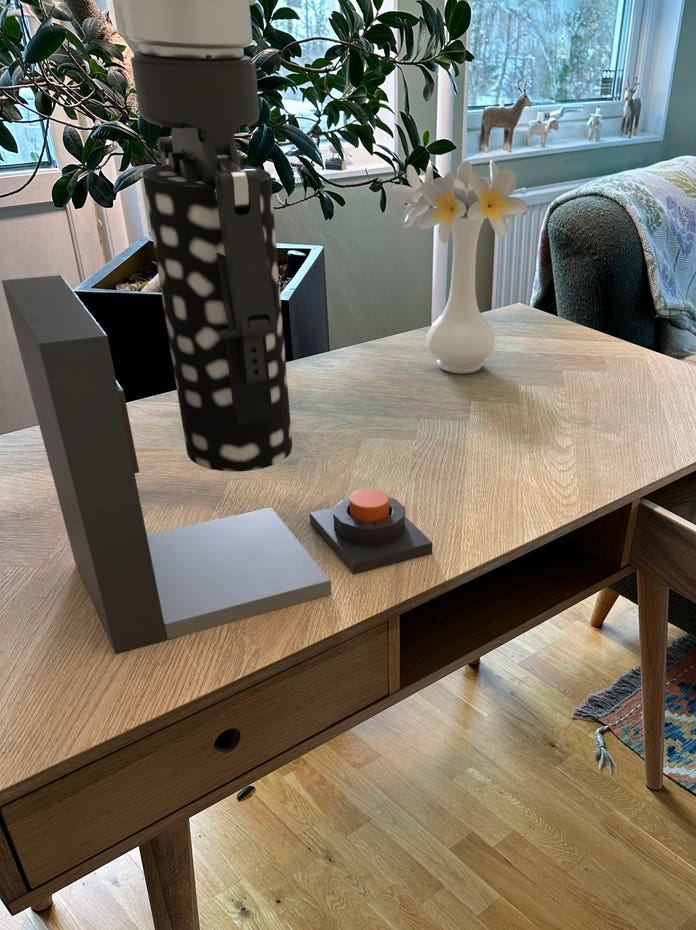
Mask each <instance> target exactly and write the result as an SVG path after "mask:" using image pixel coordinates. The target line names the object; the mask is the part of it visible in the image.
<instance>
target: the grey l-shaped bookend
mask: <svg viewBox="0 0 696 930" xmlns="http://www.w3.org/2000/svg"><path fill="white" fill-rule="evenodd" d="M1 284H2V289H3V292H4V295H5V300H6V304H7V307H8V312H9V316H10V318H11V322H12V326H13V330H14V334H15V339H16V342H17V346H18V349H19V353H20V357H21V361H22V365H23V368H24V373H25V376H26V380H27V385H28V388H29V391H30V395H31V400H32V403H33V407H34V411H35V415H36V418H37V422H38V426H39V429H40V433H41V438H42V441H43V446H44V449H45V452H46V456H47V461H48V464H49V468H50V472H51V477H52V480H53V483H54V487H55V491H56V494H57V498H58V503H59V505H60V510H61V514H62V517H63V521H64V525H65V529H66V532H67V537H68V541H69V544H70V548H71V552H72V556H73V560H74V563H75V564H74V565H75V567H76V569H77V572H78V574H79V576H80V578H81V580H82V582H83V585H84V587H85V589H86V591H87V594H88V596H89V598H90V600H91V602H92V605H93V607H94V609H95V611H96V614H97V617H98V619H99V621H100V623H101V625H102V627H103V630H104V632H105V635H106V636H107V639H108V641H109V643H110V645H111V648H112V650H113V653H114V654H120V653H123V652H126V651H131V650H134V649H138V648H142V647H146V646H149V645H152V644H157V643H160V642H163V641H167V640H171V639H174V638H178V637H183V636H186V635H189V634H193V633H197V632H200V631H204V630H207V629H211V628H215V627H219V626H223V625H225V624H226V625H227V624H230V623H234V622H237V621H241V620H245V619H247V618H251V617H255V616H258V615H262V614H266V613H270V612H273V611H276V610H281V609H284V608H288V607H291V606H292V607H293V606H295V605H299V604H302V603H306V602H309V601H313V600H318V599H321V598H324V597H328V596H331V595H332V593H333V592H332V580H331V579H330V577H329V576H328V575H327V574H326V572H325V571H324V570H323V569H322V568H321V566H320V564H319V563H317V562H316V560H315V559H314V558H313V557H312V555H311V554H310V553H309V552H308V551H307V549H306V548H305V547H304V546H303V544H302V543H301V541H299V540H298V538H297V537H296V536H295V535H294V533H293V532H292V531H291V530H290V528H289V527H288V526H287V525H286V524H285V522H284V521H283V520H282V519H281V518H280V516H279V515H278V513H276V511H275V510H274V509H273V508H272V507H271V506H270V507H267V508H262V509H257V510H252V511H248V512H243V513H239V514H235V515H229V516H225V517H221V518H216V519H212V520H206V521H201V522H199V523H193V524H188V525H184V526H180V527H174V528H170V529H167V530H162V531H157V532H153V533H149V534H148V533H147V530H146V524H145V518H144V514H143V510H142V509H143V508H142V505H141V504H142V503H141V499H140V494H139V489H138V484H137V478H136V474H138V473H140V468H139V463H138V458H137V457H138V456H137V453H136V448H135V442H134V437H133V432H132V426H131V421H130V416H129V411H128V406H127V401H126V396H125V391H124V390H123V388H122V387H121V385H120V384H119V382H118V381H117V377H116V374H115V373H116V372H115V368H114V363H113V358H112V353H111V347H110V343H109V337H108V335H107V334H106V332H105V331H104V330H103V329H102V326H101V324H100V323H98V322H97V321H96V319H95V318H94V317H93V315H92V314H91V313H90V312H89V310H88V309H87V307H86V306H85V305H84V303H83V302H82V301H81V299H80V298H79V296H78V295H77V294H76V293H75V292H74V290H73V289H72V288H71V287H70V285H69V284H68V282H67V281H66V279H65V278H64V277H63V276H62V275H61V274H57V275H48V276H46V275H45V276H36V277H23V278H13V279H12V278H11V279H2V280H1Z"/></svg>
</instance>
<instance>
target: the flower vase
mask: <svg viewBox="0 0 696 930" xmlns="http://www.w3.org/2000/svg"><path fill="white" fill-rule="evenodd" d="M489 171H490V172H489V174H490V177H488V176H487V177H486V176H482V175H481V174H478V173H473V167H472V163H471V162H470V161H469V160H464V161H463V162H462V163H461V164H460V165H459V167H458V169H457V171H456V178H455V176H454V174H453V173H452V172H451V171H447V172H446V173H445V174H444V176H443V177H436V178H434V171H433V165H432V161H431V160H430V161H429V162H428V163H427V167H426V170H425V174H424V181H422V182H421V180H420V177H419V174H418V172H417V170H416V169H415V166H413V165H412V164H408V165H407V167H406V179H407V183H408V184H409V186H408V185H404V184H399V183H398V184H394V185H392V186H391V188H390V189H391V190H390V194H391V195H392V197H393V198H394V199H395V200H396V201H398V202H400V203H402V204H407V206H406V207H405V209H404V211H403V213H402V216H401V221H400V223H401V226H402V228H403V229H404V230H406V229H408V228H410V227H411V226H413V224H414V222H415V221H416V219H417V218H419V220H418V222H417V227H418V228H419V230H421V231H426V230H429V229H432V228H433V227H435V226H437V225H438V230H437V231H438V238H439V240H440V242H441V243H442V244H447V243H448V241H449V239H450V237H451V236H452V237H451V240H452V264H451V265H452V266H451V277H450V278H451V279H450V288H449V293H448V300H447V303H446V305H445V307H444V309H443V311H442V313H441V314H440V316H439V317H438V318H436V319H435V320H434V322H433V323H432V324H431V326H430V327H429V329H428V331H427V334H426V337H425V344H426V347H427V349H428V351H429V353H431V355H432V356H433V357H434V358H435V359H436V364H437V367H438V368H440V369H441V370H443V371H445V372H448V373H452V374H472V373H476V372H478V371H480V370H481V369H482V367H483V362H484V361H486V360H487V359H488V358H490V356H491V355H492V354H493V352H494V350H495V347H496V338H495V334H494V332H493V329H492V327H491V326H490V325H489V323H488V322H487V321H486V320H485V319H484V317H483V316H482V314H481V312H480V308H479V305H478V301H477V300H478V299H477V291H476V290H477V289H476V285H477V284H476V281H477V280H476V278H477V277H476V276H477V273H476V271H477V268H476V266H477V251H478V243H479V238H480V233H481V228H482V225H483V224H484V222H485V220H486V219H488V220H489V223H490V226H491V228H492V230H493V232H494V233H495V234H496V235H497V236H498V237H500V238H504V237H505V236H506V235H507V234H508V229H509V227H508V226H509V225H508V221H509V222H511V223H513V222H514V216H516V215H522V216H526V215H528V203H527V202H526V201H525V200H524V199H523V198H520V197H517V196H511V195H512V194H513V193H514V191H515V190H516V188H517V184H518V179H517V175H516V174H515V172H513V171H511V170H510V169H508V168H503V169H501V170H500V171H499V168H498V166H497V164H496V162H495V161H494V160H490V162H489ZM430 206H432V207H431V208H430Z"/></svg>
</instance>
